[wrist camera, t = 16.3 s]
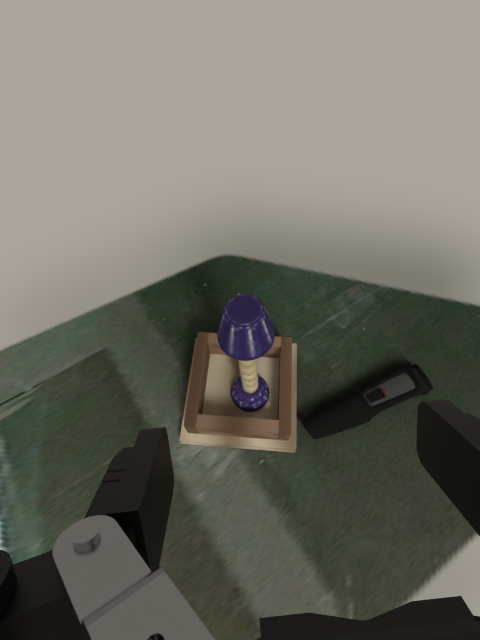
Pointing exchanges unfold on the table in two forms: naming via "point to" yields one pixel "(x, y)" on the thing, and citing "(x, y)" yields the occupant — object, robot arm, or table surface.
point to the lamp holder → (219, 409)
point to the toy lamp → (246, 347)
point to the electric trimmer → (367, 402)
